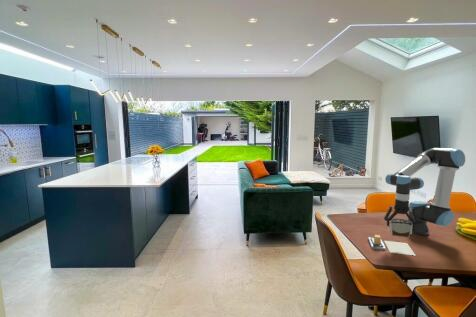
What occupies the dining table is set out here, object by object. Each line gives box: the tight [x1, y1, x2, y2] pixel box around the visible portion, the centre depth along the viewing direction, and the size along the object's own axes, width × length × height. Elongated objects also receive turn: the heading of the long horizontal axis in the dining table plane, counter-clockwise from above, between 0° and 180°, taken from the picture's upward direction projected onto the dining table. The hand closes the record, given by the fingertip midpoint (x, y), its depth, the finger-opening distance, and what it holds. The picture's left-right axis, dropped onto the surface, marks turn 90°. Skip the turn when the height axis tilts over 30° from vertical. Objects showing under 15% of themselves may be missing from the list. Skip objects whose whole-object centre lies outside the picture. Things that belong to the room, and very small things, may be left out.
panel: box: [367, 236, 387, 251], centre depth 172 cm, size 8×15×2 cm, turn 161°
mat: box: [383, 240, 417, 257], centre depth 167 cm, size 14×18×1 cm
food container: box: [390, 218, 413, 238], centre depth 165 cm, size 12×6×10 cm, turn 71°
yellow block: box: [373, 234, 382, 245], centre depth 169 cm, size 3×4×5 cm
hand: (399, 232), depth 165 cm, fingers closed on food container, 11 cm apart
